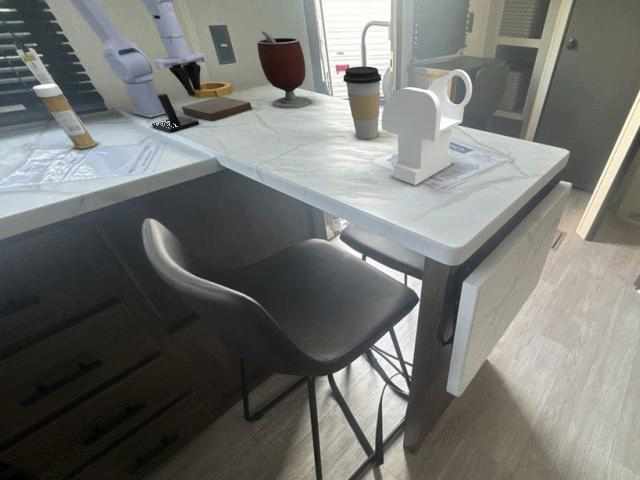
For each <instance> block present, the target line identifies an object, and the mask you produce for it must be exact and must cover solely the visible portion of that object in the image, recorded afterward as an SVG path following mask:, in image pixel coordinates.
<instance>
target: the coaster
mask: <svg viewBox="0 0 640 480" xmlns="http://www.w3.org/2000/svg"><path fill="white" fill-rule="evenodd" d="M180 108H181V111H182V112H183V114H184V115H187V116H192V117H196V118H200V119H203V120H208V121H211V122H214V121H218V120H222V119H224V118H228V117H230V116H234V115H237V114H241V113H243V112H247V111H250V110H253V108H252V104H251V102H250V101H246V100H242V99H238V98H237V99H235V98H231V97H227V96H221V97H216V98H208V99H205V100H201V101H198V102H194V103H190V104H186V105H182V106H180Z"/></svg>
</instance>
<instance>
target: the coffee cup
mask: <svg viewBox="0 0 640 480" xmlns="http://www.w3.org/2000/svg"><path fill="white" fill-rule="evenodd" d="M344 73H345V74H344V75H343V82H345V85H346V89H347V98H348V103H349V109H350V114H351V117H352V120H353V126H354V131H355V136H356V137H357V138H358V139H359V140H373V139H376V138H377V137H378V135H379V117H380V104H381V102H380V101H381V100H380V99H381V92H380V87H381V86H380V84H381V81H382V77H381V76H382V75H381V73H379V68H377V67H374V66H351V67H348V68H346V69H345V71H344Z"/></svg>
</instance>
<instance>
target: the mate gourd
mask: <svg viewBox="0 0 640 480" xmlns="http://www.w3.org/2000/svg"><path fill="white" fill-rule="evenodd" d="M261 34H262V35H264V37H265V38H262V39H261V38H260V39H258V40H256V44H257V54H258V58H259V62H260V66H261V68H262V71H263V74H264V77H265V78H266V80H267V81H268V82H269V84H270V85H272V86H273V87H274V88H277V89H279V90H281V91H284V92H285V93H284V96H283V97H278V98H276V99H274V101H273V105H274V107H276V108H280V109H281V108H282V109H291V108H292V109H293V108H300V107H304V106H306V105H308V104H310V99H309V97H306V96H302V95H301V96H299V95H296V93H295V92H294V91H295V90H296V89H298V88H299V87H301V86H302V85H303V84H304V81H305V78H306V62H305V56H304V52H303V48H302V45H301V43H300V39H299V38H296V37H273V36H272V35H271V34H269V33H268V32H267V31H265V30H262V31H261Z"/></svg>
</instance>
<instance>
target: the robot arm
mask: <svg viewBox="0 0 640 480" xmlns="http://www.w3.org/2000/svg"><path fill="white" fill-rule="evenodd" d="M68 1H69V2H70V3H71V4H72V6H73V7H74V8H75V9H76V11H77V12H78V14H79V15H80V16H81V17H82V19H83V20H84V21H85V22H86V24H87V25H88V26H89V28H90V29H91V31H93V33H94V34H95V35H96V36H97V37H98V39H99V40H100V42H101V43H102V44H103V51H102V56H103V57H104V59H105V60H106V61H107V63H108V66H109V67H110V70H111V71H112V73H113V74H114V75H115V76H116V77H117V78H118V79H120V80H121V81H122V82H123V84H124V91H125V94H127V96H128V98H129V100H130V102H131V104H132V106H133V108H134V109H135V111H133V113H134V114H135V115H139V116H143V117H146V118H149V119H150V118H154V117H158V116H162V115H166V113H165V111H164V109H163V106H162V104H161V102H160V100H159V98H158V96H157V95H158V94H160V92H159V90H158V88H157V85H156V83H155V81H154V80H153V79H154V78H155V77H154V75H153V74H154V66H153V64H152V62H151V60H150V58H148V56H147V55H146V54H145V53H143V51H142V50H140V48H138V46H137V45H136V43H134V42H132V41H131V40H129V39H127V38H125V37H124V36H123V35H122V34H121V32H120V31H119V30H118V28H117V27H116V26H115V24H114V23H113V21H112V20H111V19H110V18H109V16H108V15H107V14H106V13H105V11H104V10H103V8H102V7H101V6H100V4H99V3H98V1H96V0H68ZM140 1H141V2H142V3H143V5H144V6H145V8H146V10H147V12H148V13H149V14H150V16H151V18H152V21H153V23H154V25H155V28H156V30H157V32H158V35H159V37H160V39H161V42H162V44H163V46H164V49H165V51H166V54H167V56H168V57H163V58H160V59H153V62H154V65H155V67H156V69H157V70H160V71H161V70H162V71H163V70H166V69H168V70H169V71H170V72H171V74H173V75H174V77H175V78H176V79H177V80H178V81H179V82H180V83H181V85H182V86H183V88H184V89H185V91H186V93H187V94H189V95H191V96H194V95H195V94H194V91H193V88H194V89H197V90H201V86H200V83H201V70H202V67H201V65H200V63H207V62H209V61H208V58H207V55H206V53H203V52H199V53H191V52H190V49H189V45H188V43H187V41H186V39H185V36H184V33H183V30H182V28H181V26H180V23H179V19H178V17H177V14H176V12H175V9H174V7H173V5H172V3H173V0H140ZM198 63H199V64H198ZM191 85H192V86H193V88H192V86H191ZM189 95H188V96H189ZM191 96H190V97H191Z"/></svg>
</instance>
